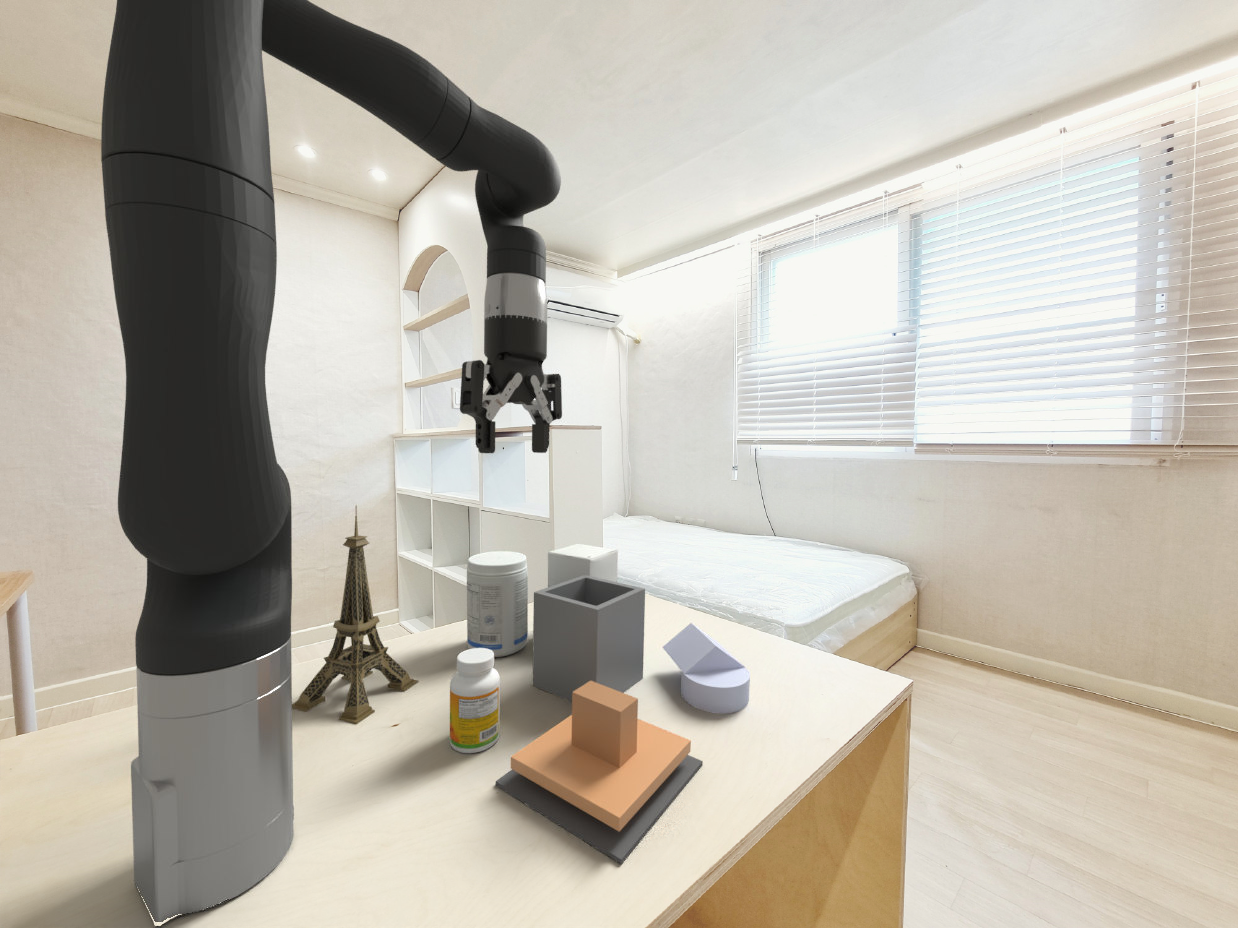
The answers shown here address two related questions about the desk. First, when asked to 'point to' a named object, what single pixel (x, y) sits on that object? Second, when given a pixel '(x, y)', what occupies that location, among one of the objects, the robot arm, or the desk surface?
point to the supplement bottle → (474, 702)
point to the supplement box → (581, 563)
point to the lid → (602, 756)
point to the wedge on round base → (708, 672)
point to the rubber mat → (591, 827)
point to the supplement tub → (497, 602)
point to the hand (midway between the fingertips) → (514, 452)
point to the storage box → (588, 635)
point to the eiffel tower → (355, 645)
